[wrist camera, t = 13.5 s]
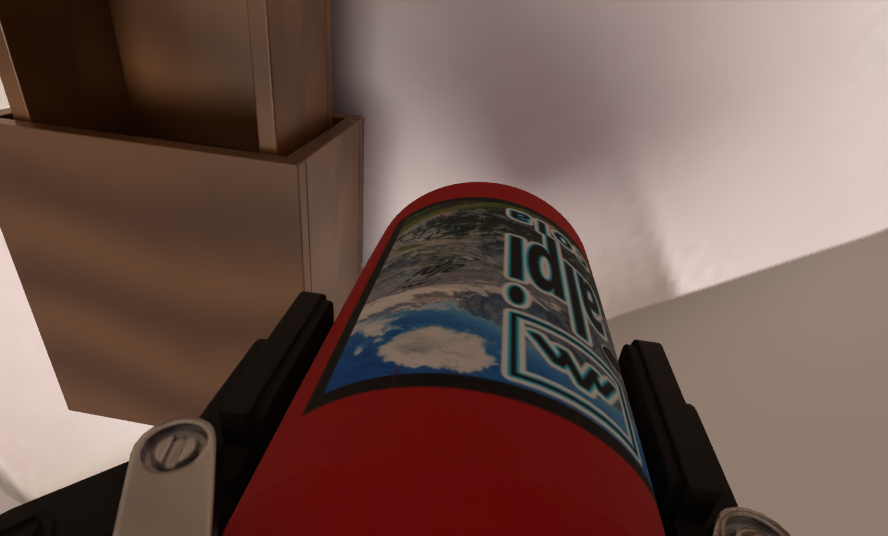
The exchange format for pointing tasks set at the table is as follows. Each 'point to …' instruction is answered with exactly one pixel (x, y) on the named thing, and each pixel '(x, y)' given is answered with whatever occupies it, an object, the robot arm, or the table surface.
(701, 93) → the table surface
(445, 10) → the table surface
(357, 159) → the cabinet
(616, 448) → the beverage can
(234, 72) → the drawer
